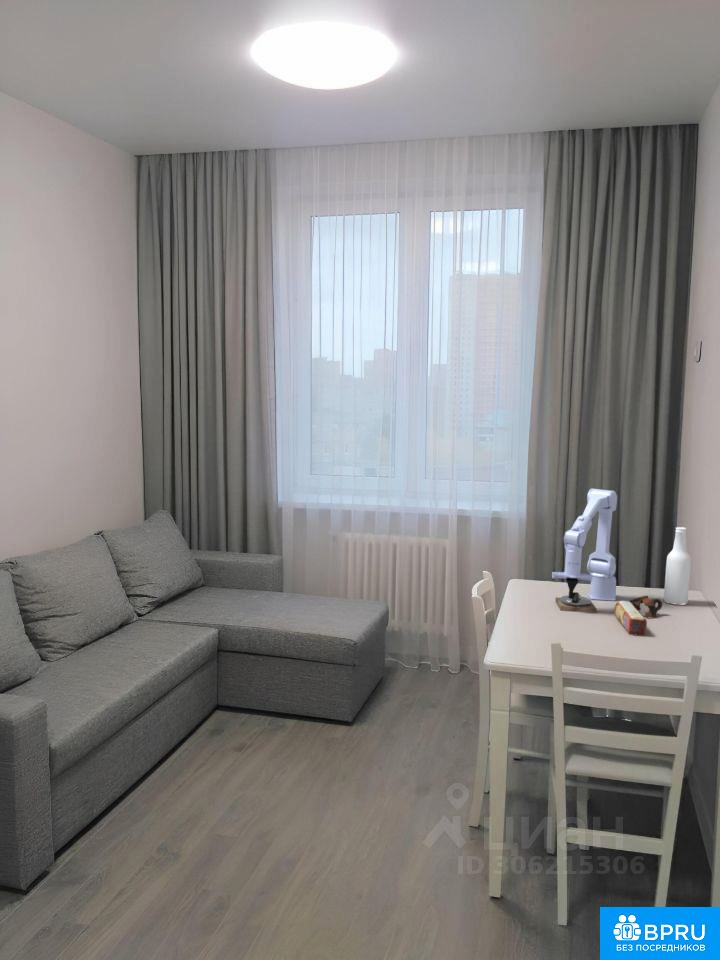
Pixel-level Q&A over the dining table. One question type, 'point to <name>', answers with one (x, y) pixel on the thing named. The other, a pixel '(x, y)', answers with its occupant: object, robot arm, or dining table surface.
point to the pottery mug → (649, 603)
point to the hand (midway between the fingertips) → (570, 598)
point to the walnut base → (575, 607)
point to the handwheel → (576, 600)
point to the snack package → (630, 618)
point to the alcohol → (677, 570)
